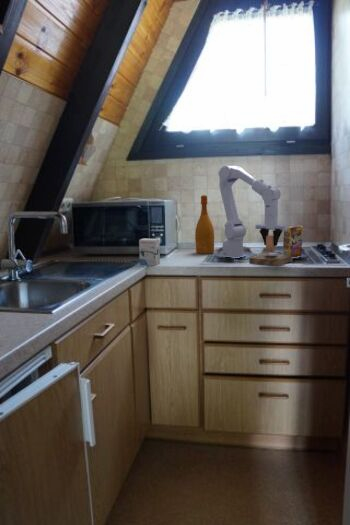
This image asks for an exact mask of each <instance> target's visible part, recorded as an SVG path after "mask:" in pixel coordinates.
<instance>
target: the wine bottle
mask: <svg viewBox="0 0 350 525" xmlns="http://www.w3.org/2000/svg"><path fill="white" fill-rule="evenodd" d="M200 204H201V205H200V206H201V210H200V214H199V215H200V216H199V218H198V221H197V224H196V225H195V226H196V227H195V230H194V233H195V235H194V237H195V238H194V239H195V252H196V254H199V255H210V254H213V253H214V252H215V230H214V225H213V223H212V220H211V218H210V217H209V216H210V215H209V212H208V195H206V194H202V195H201V196H200Z"/></svg>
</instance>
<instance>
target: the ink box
mask: <svg viewBox="0 0 350 525" xmlns="http://www.w3.org/2000/svg"><path fill="white" fill-rule="evenodd" d="M138 244H139V245H138V246H139V249H138V251H139V265H140V264H142V265H143V266H158V265H160V263H161V258H160V257H161V256H160V254H161V253H160V252H161V251H160V250H161V249H160V239H159V238H144V237H143V238H140V239H139V240H138Z"/></svg>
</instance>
